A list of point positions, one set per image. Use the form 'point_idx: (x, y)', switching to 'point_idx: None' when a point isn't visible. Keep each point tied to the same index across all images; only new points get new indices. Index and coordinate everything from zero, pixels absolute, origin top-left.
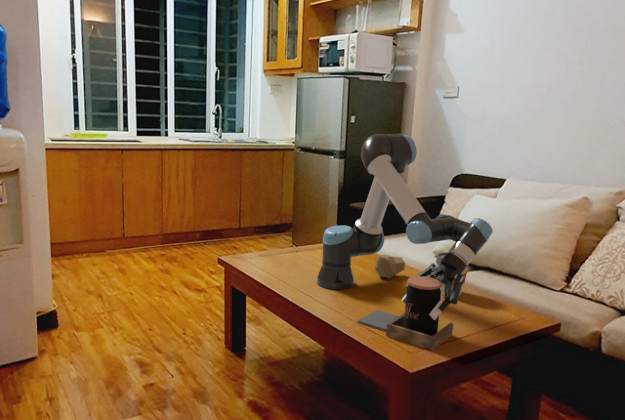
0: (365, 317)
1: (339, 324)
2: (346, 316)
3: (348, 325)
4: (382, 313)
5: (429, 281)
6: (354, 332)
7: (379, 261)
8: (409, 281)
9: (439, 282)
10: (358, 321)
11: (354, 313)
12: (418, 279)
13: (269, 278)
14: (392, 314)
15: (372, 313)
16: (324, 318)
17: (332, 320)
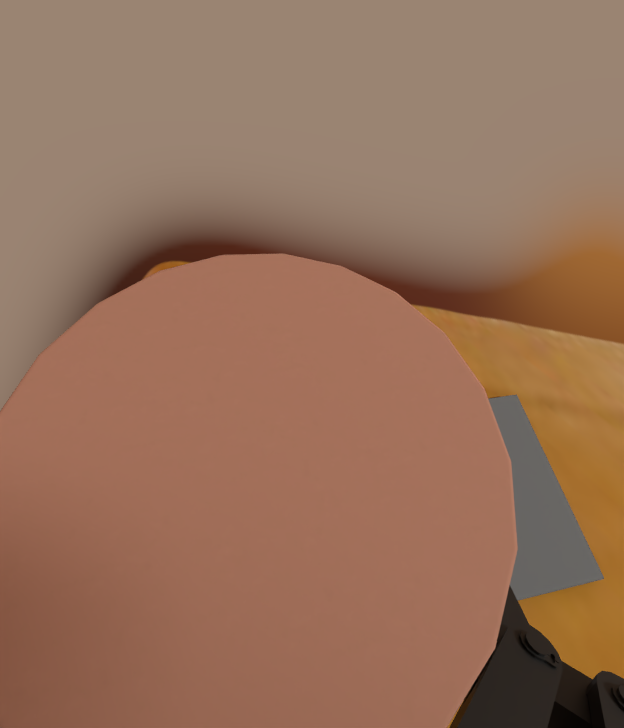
0: (532, 444)
1: (521, 340)
2: (583, 413)
3: (501, 356)
4: (547, 558)
5: (198, 509)
6: (442, 329)
7: None
8: (380, 294)
9: (12, 632)
10: (510, 396)
11: (605, 466)
12: (374, 450)
13: None
14: (517, 597)
15: (564, 512)
16: (588, 340)
17: (562, 348)
